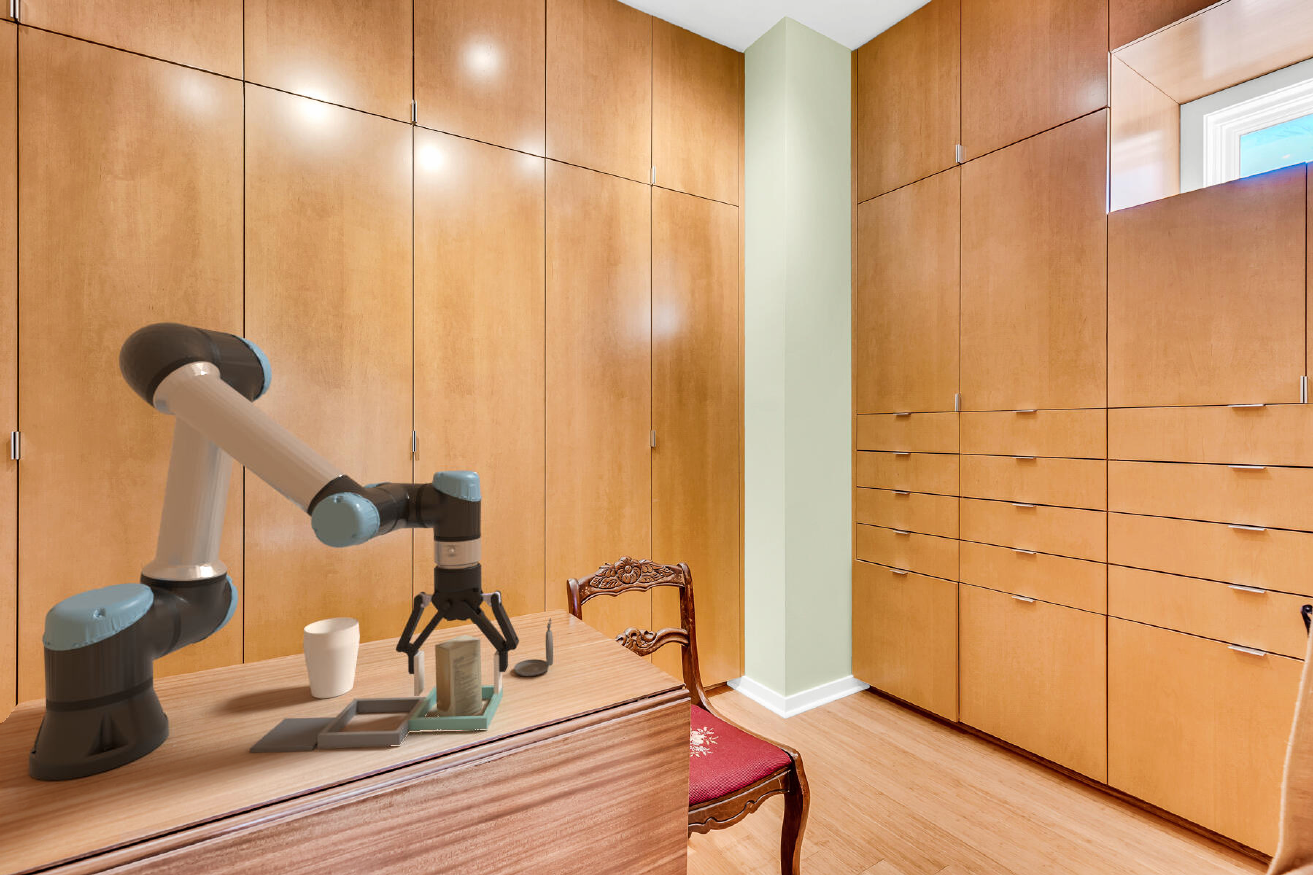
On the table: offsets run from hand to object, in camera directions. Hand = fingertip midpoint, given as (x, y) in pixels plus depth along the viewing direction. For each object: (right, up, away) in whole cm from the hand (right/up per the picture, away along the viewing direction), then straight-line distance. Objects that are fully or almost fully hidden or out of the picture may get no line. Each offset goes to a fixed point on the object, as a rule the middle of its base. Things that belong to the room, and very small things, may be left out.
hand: (458, 691), depth 99 cm
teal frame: (0, -4, 0) cm, 4 cm away
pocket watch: (+10, -4, +18) cm, 20 cm away
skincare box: (0, -4, 0) cm, 4 cm away
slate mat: (-23, -4, -7) cm, 24 cm away
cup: (-26, -4, +9) cm, 28 cm away
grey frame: (-12, -4, -5) cm, 13 cm away
